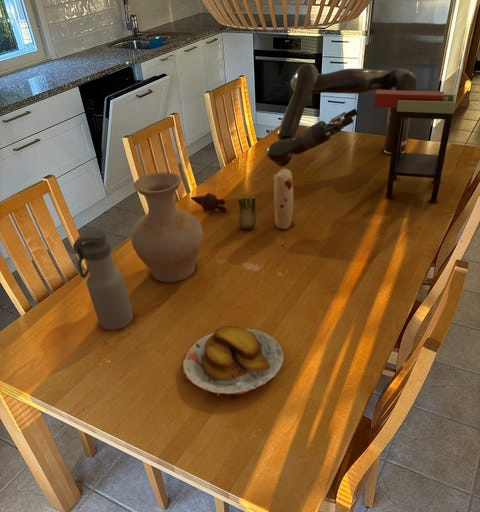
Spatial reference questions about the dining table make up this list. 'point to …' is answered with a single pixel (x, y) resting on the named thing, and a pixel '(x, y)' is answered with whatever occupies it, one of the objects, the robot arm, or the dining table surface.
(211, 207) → the icecream
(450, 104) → the olive green shallow box
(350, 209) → the dining table surface
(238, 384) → the food on plate
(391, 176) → the stand
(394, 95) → the red bar
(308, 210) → the dining table surface
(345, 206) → the dining table surface
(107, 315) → the water bottle
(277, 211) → the food model
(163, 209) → the vase
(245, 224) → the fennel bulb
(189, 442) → the dining table surface
